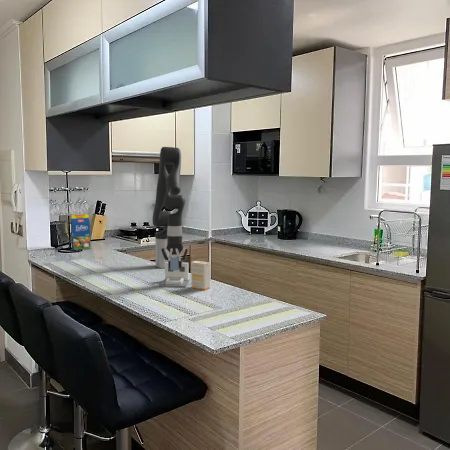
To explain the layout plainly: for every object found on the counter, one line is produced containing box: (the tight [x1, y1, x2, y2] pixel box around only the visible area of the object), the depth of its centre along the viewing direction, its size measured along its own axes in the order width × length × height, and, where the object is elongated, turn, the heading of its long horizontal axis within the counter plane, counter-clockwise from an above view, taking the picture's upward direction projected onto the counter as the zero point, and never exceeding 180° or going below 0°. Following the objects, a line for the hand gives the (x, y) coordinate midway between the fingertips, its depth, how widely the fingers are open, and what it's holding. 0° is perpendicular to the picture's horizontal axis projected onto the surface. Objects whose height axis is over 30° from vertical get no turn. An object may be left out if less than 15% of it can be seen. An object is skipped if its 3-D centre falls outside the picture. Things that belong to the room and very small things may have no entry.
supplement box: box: [190, 260, 211, 291], centre depth 224 cm, size 8×5×13 cm, turn 56°
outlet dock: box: [159, 262, 190, 288], centre depth 232 cm, size 13×13×10 cm
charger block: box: [170, 255, 179, 270], centre depth 232 cm, size 4×4×6 cm
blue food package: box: [70, 213, 92, 251], centre depth 329 cm, size 6×12×25 cm, turn 121°
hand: (175, 268), depth 232 cm, fingers closed on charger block, 4 cm apart
